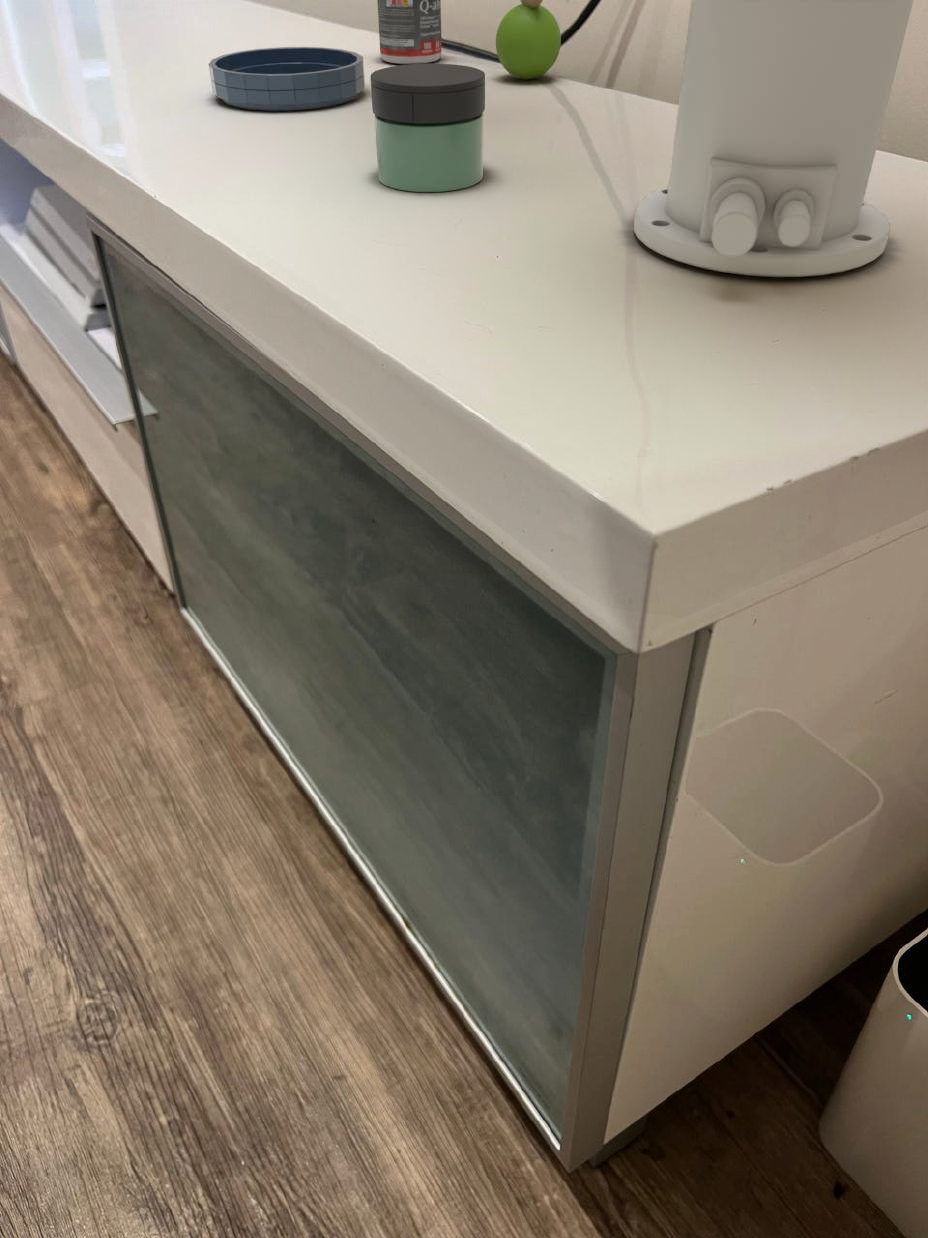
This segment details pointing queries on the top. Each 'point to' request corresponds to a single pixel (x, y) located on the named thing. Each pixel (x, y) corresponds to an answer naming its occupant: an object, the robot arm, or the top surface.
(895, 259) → the top surface
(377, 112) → the lid
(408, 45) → the pill bottle
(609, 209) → the top surface
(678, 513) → the top surface
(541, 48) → the green apple
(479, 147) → the jar
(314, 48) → the dish
